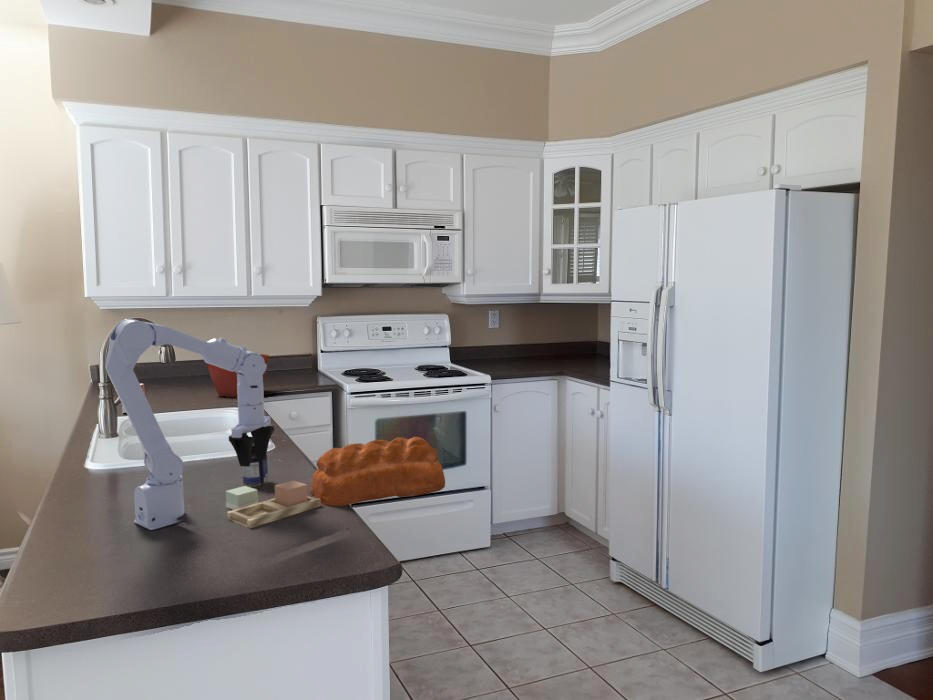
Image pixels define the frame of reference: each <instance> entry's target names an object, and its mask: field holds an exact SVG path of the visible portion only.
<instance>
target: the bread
mask: <svg viewBox="0 0 933 700" xmlns="http://www.w3.org/2000/svg"><path fill="white" fill-rule="evenodd" d="M316 467H317V469H316V470H315V471H314V473H313V475H312V479H311V487H310V495H313V496H314V497H313V498H319V499H321V504H322V505H324V506H328V507H330V506H332V507H333V506H334V507H341V506H349V505H353V504H358V503H363V502H367V501H375V500H380V499H387V498H388V499H389V498H392V497H399V498H406V497H407V498H408V497H417V496H422V495H427V494H428V495H429V494H432V493H436V492H440V491H441V490H443V489H444V488H446V477H445V473H444V470H443V466H442V464H441V463H440V461H439V460H438V450H437V448H434V447H432V446H430V445H429V443H428V442H427V441H426V440H425V439H424V438H422V437H420V436H413V437H411V438H409V439H408V438H406V437H404V436H401V437H396V438H394V439H392V440H391V441H389V440H386V439H375V440H370V441H369V442H367V443H365V444H364V443H361V442H360V443H350V444H347V445H345V446H343V447H342V448H339V447H333V448H330V449H328V450H327V451H326V452H325V453H323V454H322V455H321V456H319V457H318V458H317V461H316Z"/></svg>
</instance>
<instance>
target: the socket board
mask: <svg viewBox="0 0 933 700" xmlns="http://www.w3.org/2000/svg"><path fill="white" fill-rule="evenodd" d="M307 500H308V501H307V502H303V503H300V504H297V505H293V506H290V507H286V506H283V505H280V504H277V503H275V497H274V498H271V499H270V498H269V499H266V500H263V501H260V502H258V503H256V504H253V505H249V506H246V507H242V508H239V509H235V510H232V509H231V510H229V511H227V512H226V515H227V516H226V517H227V518H226V519H227V520H229V521H232V522H234V523H236V524H238V525H241V526H243V527H246V528H249V529H253V528H255V527H259V526H262V525H266V524H268V523H271V522H274V521H279V520H282V519H284V518H287V517H291V516H293V515H296V514H300V513H304V512H307V511H310V510H312V509H315V508H319V507H321V506H322V505H321V504H322V503H321V499H319V498H315V497H312V496H309V495H307Z"/></svg>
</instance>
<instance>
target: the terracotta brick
mask: <svg viewBox="0 0 933 700" xmlns="http://www.w3.org/2000/svg"><path fill="white" fill-rule="evenodd" d="M307 496H308V484H305V483H303V482H300V481H296V480H293V479H292V480H291V481H286V482H282V483H280V484H276V485H274V498H275V503H277V504H280V505H283V506H286V507H290V506H293V505H297V504H300V503H303V502H307V501H308V500H307Z"/></svg>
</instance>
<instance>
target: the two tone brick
mask: <svg viewBox="0 0 933 700" xmlns="http://www.w3.org/2000/svg"><path fill="white" fill-rule="evenodd" d="M224 492H225V508H228V509H230V510H231V511H232V510H235V509H239V508H242V507H246V506H249V505H253V504H256V503H259V493H258V489H257V488H254V487H251V488H250V487H247V486H243V485H242V486H238V487H236V488H232V489H229V490H228V489H227V490H225V491H224Z"/></svg>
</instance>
